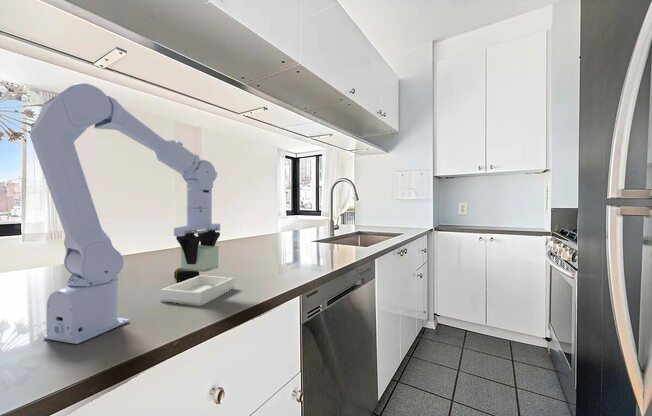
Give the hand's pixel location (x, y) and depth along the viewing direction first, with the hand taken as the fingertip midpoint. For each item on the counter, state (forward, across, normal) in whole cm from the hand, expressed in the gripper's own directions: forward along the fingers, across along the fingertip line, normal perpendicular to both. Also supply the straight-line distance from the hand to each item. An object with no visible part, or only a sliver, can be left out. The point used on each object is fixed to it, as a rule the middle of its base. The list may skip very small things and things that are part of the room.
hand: (199, 261), depth 70 cm
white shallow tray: (+9, +2, +1) cm, 9 cm away
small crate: (+2, 0, 0) cm, 2 cm away
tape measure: (+9, +13, +14) cm, 21 cm away
